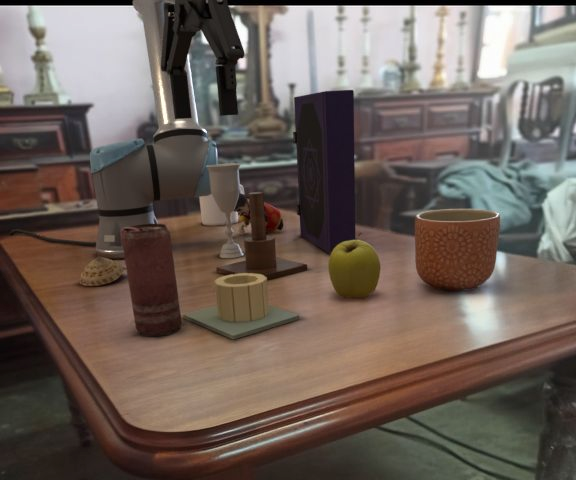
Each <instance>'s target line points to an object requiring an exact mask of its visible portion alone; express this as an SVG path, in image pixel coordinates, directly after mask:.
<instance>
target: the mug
mask: <svg viewBox="0 0 576 480" xmlns="http://www.w3.org/2000/svg"><path fill="white" fill-rule="evenodd" d="M239 194H244V195H245V188H244V186H243V185H242V184H241V183H240V193H239ZM198 198H199V208H200V215H201V217H200V218H201V223H202V225H204V226H208V227H210V226H211V227H214V226H216V227H217V226H226V224H225V222H226V215H225V213H223V212H221V211H220V209H219V207H218V205H217V204H216V202H215V200H214V198H213V195H212V194H210V195H208V196H201V197H198ZM230 218H231V221H232V224H231V225H233V224H236V223H238V221H239V215H238V212H235V211H233V212H231V213H230Z"/></svg>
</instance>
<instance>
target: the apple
mask: <svg viewBox="0 0 576 480" xmlns="http://www.w3.org/2000/svg"><path fill="white" fill-rule="evenodd" d="M361 234H362V232H360V233H359V234H358V235H357V237H356V240H350V241H344V242H342V243H340V244H338V245H337V246H336V247H335V248H334V249H333V251H332V252H331V255H330V254H329V258H328V263H327V265H328V266H327V267H328V274H329V279H330V281H331V284H332V287H333V290H334V292H335V293H336V294H337V295H338V296H340V297H342V298H353V299H355V298H366V297H368V296H369V295H371V294H372V293H373V292H374V291H375V290H376V289H377V286H378V284H379V279H380V276H381V275H380V274H381V259H380V256H379V254H378V253H377V250H376V249H375V248H374V247H373V246H372V245H371V244H370V243H369V242H367V241H364V240H362V239H358V238H359V237H360V236H361Z"/></svg>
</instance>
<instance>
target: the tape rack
mask: <svg viewBox="0 0 576 480" xmlns="http://www.w3.org/2000/svg"><path fill="white" fill-rule="evenodd" d="M248 197H249V206H250V219H251V223H250V230H251V236H248V237H246V238H244V239H243V247H244V259H245V260H242V261H241V260H240V261H238V262H237V261H236V262H232V263H228V264H223V265H220V266H216V267H215V268H216V273H218V274H222V275H223V276H227V275H231V274H233V275H234V274H240V273H248V274H249V273H254V274H261V275H264V276H265V277H267V281H269V280H273V279H277V278H280V277H285V276H288V275H293V274H296V273H301V272H304V271H308V264H307V263H302V262H298V261H294V260H289V259H285V258H280V257H277V251H276V237H275V236H272V235H267V232H266V224H265V210H264V202H265V196H264V192H263V191H254V192H249V193H248Z"/></svg>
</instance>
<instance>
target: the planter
mask: <svg viewBox="0 0 576 480" xmlns="http://www.w3.org/2000/svg"><path fill="white" fill-rule="evenodd" d="M500 227H501V214H500V213H499V212H497V211H493V210H488V209H481V208H480V209H479V208H444V209H443V208H442V209H433V210H427V211H423V212H422V211H421V212H419V213H416V215H415V218H414V251H415V252H414V256H415V257H414V259H415V260H414V262H415V269H416V272H417V275H418V276H419V278H420V279H421V281H423V282H424V283H425V284H426V285H427V286H429V287H431V288H433V289H436V290H441V291H449V292H453V291H454V292H458V291H459V292H461V291H469V290H474V289H477V288H479V287H480V286H483V284H485V283H486V282H487V281H488V280H489V279H490V278H491V276H492V275H493V273H494V271H495V266H496V262H497V254H498V245H499V237H500V230H501V229H500Z"/></svg>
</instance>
